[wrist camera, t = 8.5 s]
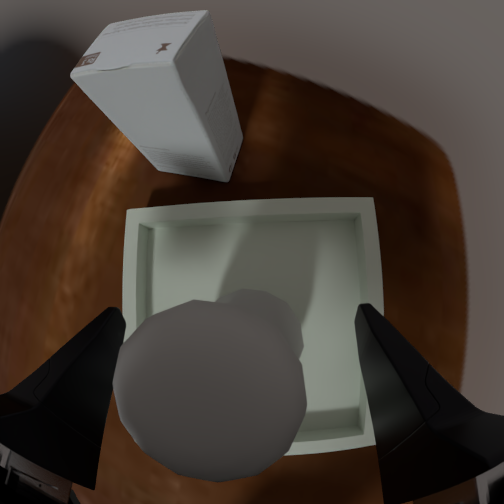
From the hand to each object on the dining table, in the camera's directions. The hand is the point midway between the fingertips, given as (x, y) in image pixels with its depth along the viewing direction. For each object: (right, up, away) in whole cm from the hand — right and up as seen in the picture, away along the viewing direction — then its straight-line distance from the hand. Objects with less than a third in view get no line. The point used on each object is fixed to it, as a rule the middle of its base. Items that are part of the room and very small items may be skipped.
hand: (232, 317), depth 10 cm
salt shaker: (+1, -3, +7) cm, 8 cm away
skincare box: (-3, +10, +11) cm, 15 cm away
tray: (+1, -3, +8) cm, 9 cm away
